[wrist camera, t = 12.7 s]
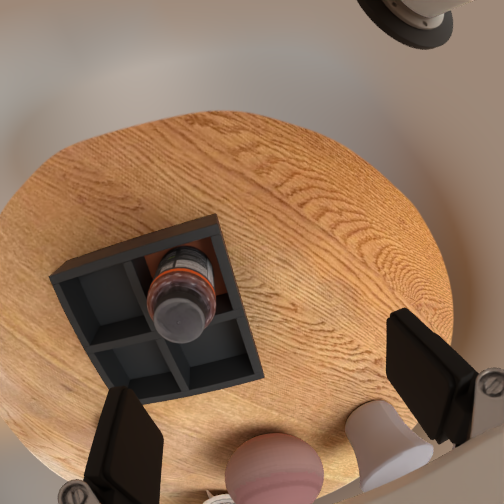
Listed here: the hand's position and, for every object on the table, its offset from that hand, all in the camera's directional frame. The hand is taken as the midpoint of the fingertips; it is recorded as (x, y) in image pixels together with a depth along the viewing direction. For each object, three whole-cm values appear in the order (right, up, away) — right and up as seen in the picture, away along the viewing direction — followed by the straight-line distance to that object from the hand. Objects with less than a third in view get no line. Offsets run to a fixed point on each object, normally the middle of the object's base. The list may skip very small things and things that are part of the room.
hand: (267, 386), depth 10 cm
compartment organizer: (-11, -2, +25) cm, 27 cm away
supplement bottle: (-8, +3, +23) cm, 25 cm away
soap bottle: (+20, -24, +36) cm, 48 cm away
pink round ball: (+2, -27, +35) cm, 44 cm away
